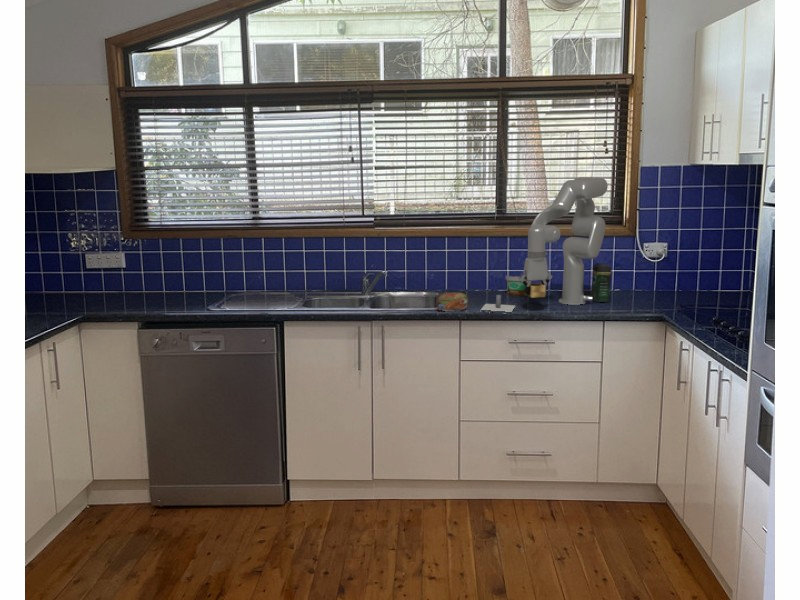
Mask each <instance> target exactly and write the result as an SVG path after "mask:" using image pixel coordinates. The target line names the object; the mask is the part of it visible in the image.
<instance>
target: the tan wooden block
mask: <svg viewBox="0 0 800 600" xmlns="http://www.w3.org/2000/svg"><path fill="white" fill-rule="evenodd" d="M529 287H530V296H528V295H526V296H528V297H530V298H533V299H534V298H545V297H546V292H545V289H546V290H547V288H546V287H547V285H546V286H545V285H543V284H542V283H541V282H536V283H532V282H531V283H530V286H529Z"/></svg>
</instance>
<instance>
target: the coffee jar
mask: <svg viewBox="0 0 800 600" xmlns="http://www.w3.org/2000/svg"><path fill="white" fill-rule="evenodd" d="M611 277H612V267H611V266H610V265H608V264H605V263H603V262H599V263H595V264H593V266H592V281H591V282H592V284H591V295H590V296H592V300H591V301H592V302H595V303H600V302H605V303H609V302H610V293H611V292H610V291H611V290H610V289H611Z"/></svg>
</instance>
